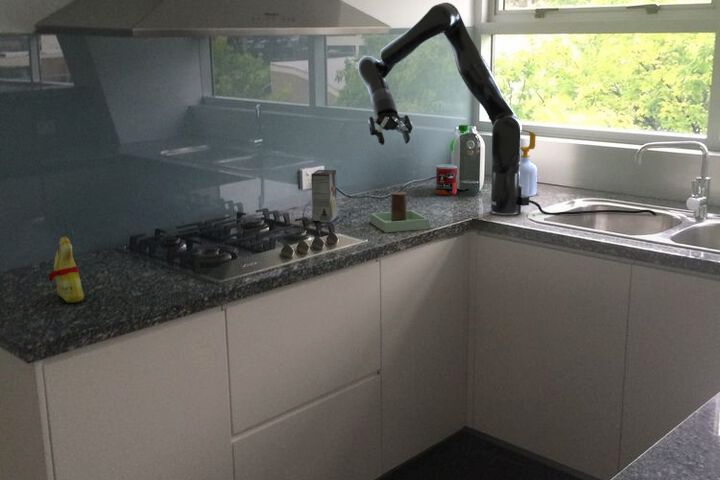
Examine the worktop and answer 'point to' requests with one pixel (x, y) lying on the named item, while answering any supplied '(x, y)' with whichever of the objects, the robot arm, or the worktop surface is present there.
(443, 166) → the canned food
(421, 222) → the tray
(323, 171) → the coffee box
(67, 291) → the chocolate bunny
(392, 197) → the pepper mill
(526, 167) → the soap bottle
